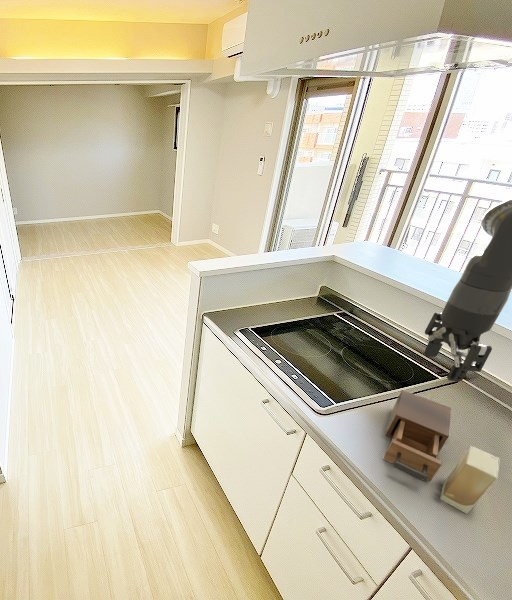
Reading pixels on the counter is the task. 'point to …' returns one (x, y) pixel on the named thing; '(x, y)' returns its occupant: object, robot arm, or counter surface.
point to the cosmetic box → (470, 479)
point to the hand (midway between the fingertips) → (440, 367)
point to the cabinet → (420, 415)
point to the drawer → (414, 450)
